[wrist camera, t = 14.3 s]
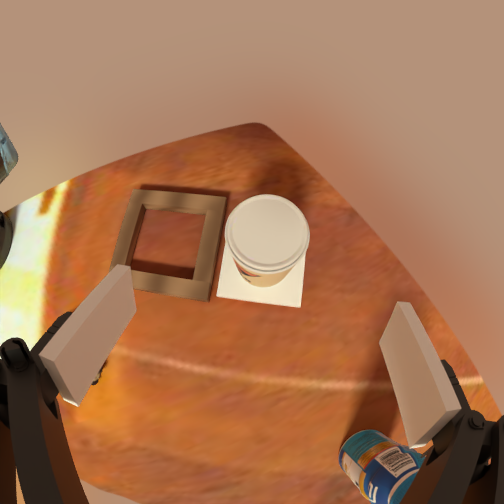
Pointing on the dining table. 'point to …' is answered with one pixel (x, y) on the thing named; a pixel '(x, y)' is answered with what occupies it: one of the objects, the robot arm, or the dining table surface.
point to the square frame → (207, 249)
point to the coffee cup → (266, 238)
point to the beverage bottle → (379, 466)
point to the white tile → (278, 294)
